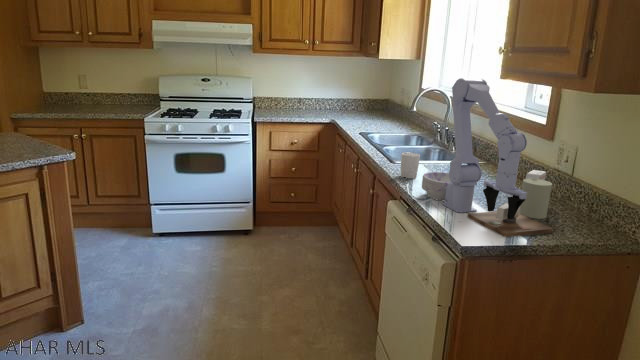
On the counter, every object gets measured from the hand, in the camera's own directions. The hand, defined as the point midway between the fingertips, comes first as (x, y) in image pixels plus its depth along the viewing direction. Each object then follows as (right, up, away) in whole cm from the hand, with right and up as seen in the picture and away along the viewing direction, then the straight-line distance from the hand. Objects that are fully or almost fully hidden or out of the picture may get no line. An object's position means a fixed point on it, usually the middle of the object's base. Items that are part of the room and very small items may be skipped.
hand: (500, 214), depth 148 cm
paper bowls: (-11, +4, +29) cm, 32 cm away
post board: (+4, -3, +3) cm, 6 cm away
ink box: (+22, +2, +28) cm, 36 cm away
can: (+16, -1, +15) cm, 22 cm away
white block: (+2, -1, +1) cm, 2 cm away
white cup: (-18, +12, +57) cm, 61 cm away
